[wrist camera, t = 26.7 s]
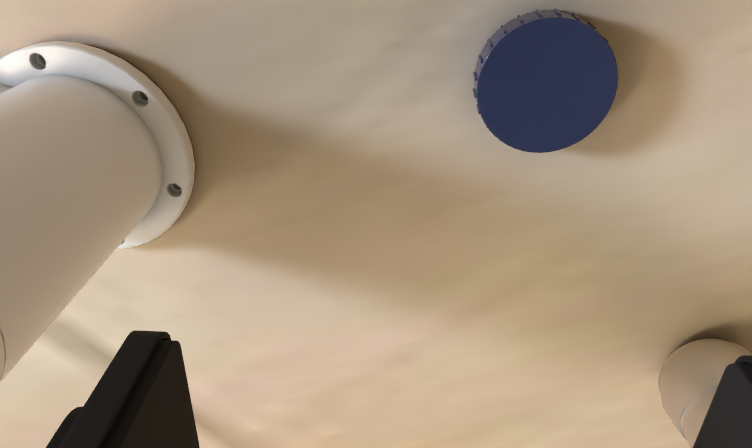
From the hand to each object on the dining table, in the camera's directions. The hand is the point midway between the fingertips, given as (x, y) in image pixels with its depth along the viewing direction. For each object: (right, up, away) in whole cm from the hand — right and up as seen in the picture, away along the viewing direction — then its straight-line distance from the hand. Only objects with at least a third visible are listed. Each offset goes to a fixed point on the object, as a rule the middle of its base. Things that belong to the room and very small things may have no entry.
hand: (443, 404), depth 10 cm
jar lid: (+7, +10, +19) cm, 23 cm away
